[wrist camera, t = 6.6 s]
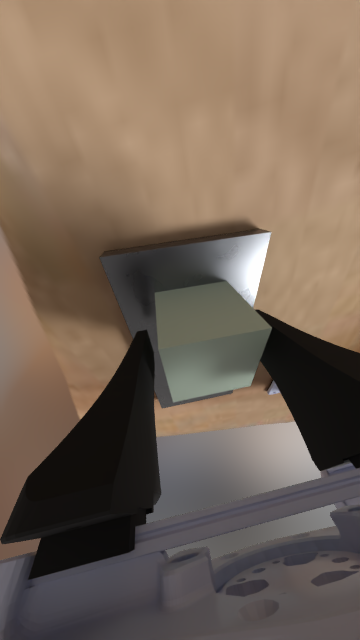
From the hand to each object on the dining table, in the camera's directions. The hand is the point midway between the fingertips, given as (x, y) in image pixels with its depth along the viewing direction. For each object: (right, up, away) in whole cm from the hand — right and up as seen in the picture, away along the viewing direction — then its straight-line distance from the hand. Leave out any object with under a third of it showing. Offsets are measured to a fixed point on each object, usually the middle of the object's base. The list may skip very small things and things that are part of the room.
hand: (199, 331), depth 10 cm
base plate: (0, -2, +6) cm, 6 cm away
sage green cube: (0, +1, +2) cm, 2 cm away
